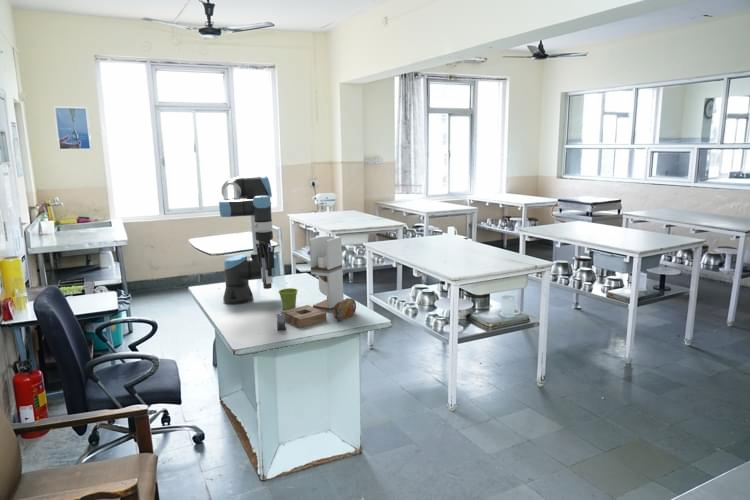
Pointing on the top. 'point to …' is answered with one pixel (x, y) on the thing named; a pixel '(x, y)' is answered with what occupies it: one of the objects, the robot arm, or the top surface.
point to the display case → (327, 269)
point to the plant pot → (288, 297)
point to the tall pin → (265, 286)
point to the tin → (344, 309)
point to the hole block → (304, 316)
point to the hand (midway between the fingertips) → (267, 282)
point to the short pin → (281, 322)
